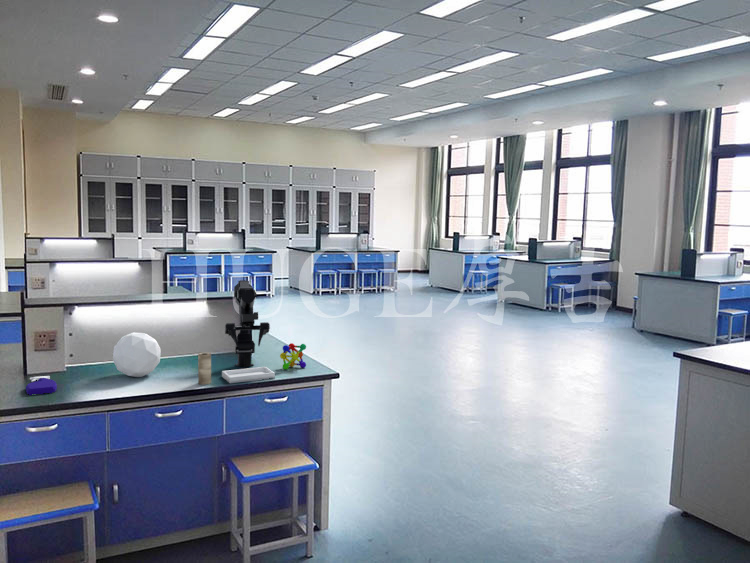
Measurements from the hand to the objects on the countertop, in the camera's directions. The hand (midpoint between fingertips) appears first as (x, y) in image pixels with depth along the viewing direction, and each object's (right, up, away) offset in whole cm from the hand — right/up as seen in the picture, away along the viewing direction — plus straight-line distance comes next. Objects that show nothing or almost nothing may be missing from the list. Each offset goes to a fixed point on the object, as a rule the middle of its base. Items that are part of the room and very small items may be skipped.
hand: (248, 346), depth 263 cm
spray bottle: (-81, -15, -14) cm, 84 cm away
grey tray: (-1, -14, +7) cm, 16 cm away
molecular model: (+16, -13, +26) cm, 33 cm away
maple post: (-18, -15, -3) cm, 23 cm away
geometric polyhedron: (-50, -14, +6) cm, 52 cm away
